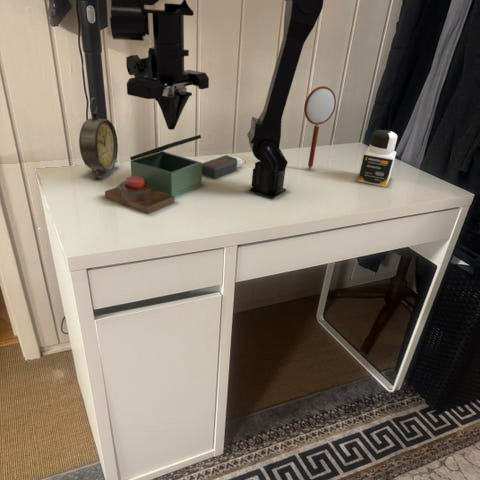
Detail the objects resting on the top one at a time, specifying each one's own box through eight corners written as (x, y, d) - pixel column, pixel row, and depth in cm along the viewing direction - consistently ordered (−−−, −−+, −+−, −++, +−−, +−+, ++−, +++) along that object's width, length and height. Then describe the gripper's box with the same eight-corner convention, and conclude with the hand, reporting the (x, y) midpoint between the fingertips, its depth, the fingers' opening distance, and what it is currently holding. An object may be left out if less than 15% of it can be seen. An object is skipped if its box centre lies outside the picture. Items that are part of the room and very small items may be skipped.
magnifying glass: (321, 167, 124) (336, 85, 113) (325, 169, 123) (340, 87, 112) (293, 169, 121) (305, 85, 110) (296, 171, 120) (309, 87, 108)
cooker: (201, 185, 107) (202, 162, 104) (171, 198, 99) (171, 173, 96) (163, 173, 112) (162, 150, 109) (131, 184, 104) (130, 160, 101)
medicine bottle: (357, 181, 117) (368, 132, 110) (362, 173, 123) (373, 126, 116) (385, 187, 116) (399, 137, 109) (389, 179, 121) (402, 131, 114)
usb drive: (197, 173, 113) (197, 162, 112) (227, 163, 121) (227, 152, 120) (214, 179, 111) (214, 167, 109) (243, 168, 119) (244, 157, 118)
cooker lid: (201, 137, 101) (200, 134, 101) (169, 147, 93) (168, 143, 93) (163, 150, 108) (162, 147, 108) (130, 160, 101) (129, 157, 101)
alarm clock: (101, 182, 104) (93, 104, 94) (78, 178, 105) (68, 100, 95) (121, 167, 113) (115, 94, 103) (100, 164, 113) (92, 92, 104)
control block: (174, 203, 97) (174, 186, 95) (147, 214, 92) (146, 197, 90) (132, 188, 102) (131, 172, 100) (104, 198, 97) (102, 182, 94)
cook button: (148, 187, 95) (148, 179, 94) (136, 192, 93) (135, 183, 92) (135, 183, 97) (135, 174, 96) (122, 187, 94) (122, 179, 93)
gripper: (168, 36, 97) (170, 115, 107) (101, 40, 85) (110, 129, 94) (211, 42, 93) (209, 124, 102) (147, 47, 80) (151, 141, 89)
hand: (171, 129), depth 97 cm, fingers closed
